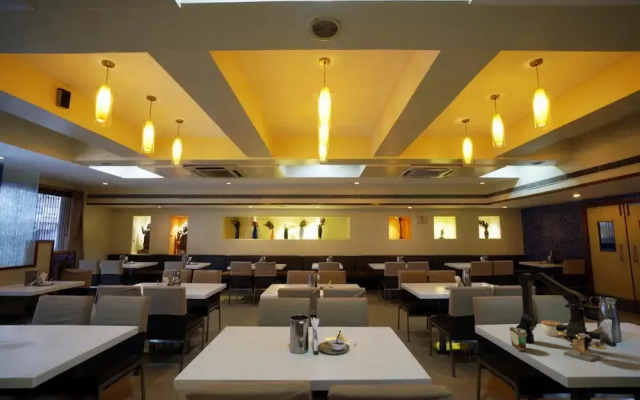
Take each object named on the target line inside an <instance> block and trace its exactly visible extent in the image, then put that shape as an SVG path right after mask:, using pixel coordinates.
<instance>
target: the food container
mask: <svg viewBox="0 0 640 400" xmlns="http://www.w3.org/2000/svg"><path fill="white" fill-rule="evenodd" d="M509 333H510V342H511V347H513V348H514V349H515V350H516V351H517V352H519V353H522V352H523V353H524V352H526V351H527V343H526V336H527V333H526V331H525V330H523V329H519V328H516V327H513V326H512V327H511V326H509Z"/></svg>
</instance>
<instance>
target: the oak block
mask: <svg viewBox="0 0 640 400" xmlns="http://www.w3.org/2000/svg"><path fill="white" fill-rule="evenodd" d="M572 345H573V346H572V348H573V347H574V348H573V349H574V350H575V351H578V352H582V353H586V352H588V353H590V352H589V350H586V349H585V340H584V339H579V338H578V337H576V338H575V339H573V343H572Z"/></svg>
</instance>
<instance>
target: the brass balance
mask: <svg viewBox="0 0 640 400" xmlns="http://www.w3.org/2000/svg"><path fill="white" fill-rule="evenodd" d="M564 332H565V330H564V331H563V332H557V334H559V336H564V337H569V336H568V335H567V334H564ZM576 338H579V339H584V336H581V335H579V334H578V335H576ZM584 340H585V339H584ZM591 343H592V344H590V347H591V348H593V349H597V350H607V347H606V346H604V345H601V342H600V341H594V340H592V341H591ZM590 347H589V348H588V351H589V350H590ZM572 348H573V349H574V347H573V344H572Z"/></svg>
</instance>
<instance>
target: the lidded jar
mask: <svg viewBox="0 0 640 400" xmlns="http://www.w3.org/2000/svg"><path fill="white" fill-rule="evenodd" d="M559 324H562V322H559V321H554V320H553V319H549V320H541V321H540V325H541V329H542V331H543V332H544V333H545V335H546V336H549V337H554V338H558V337H559V336H560V335H559V334H557V332H561V331H557V330H556V326H557V325H559Z"/></svg>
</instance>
